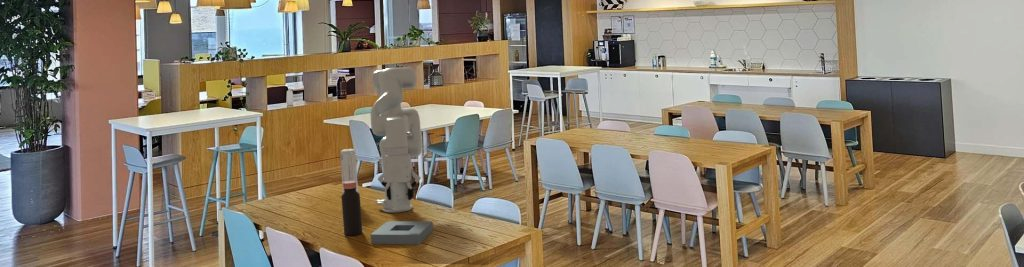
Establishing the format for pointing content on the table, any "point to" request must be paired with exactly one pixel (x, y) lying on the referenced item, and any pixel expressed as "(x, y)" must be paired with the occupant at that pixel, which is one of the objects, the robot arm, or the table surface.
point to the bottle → (351, 209)
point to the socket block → (402, 232)
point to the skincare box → (399, 196)
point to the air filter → (348, 166)
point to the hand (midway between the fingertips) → (400, 198)
